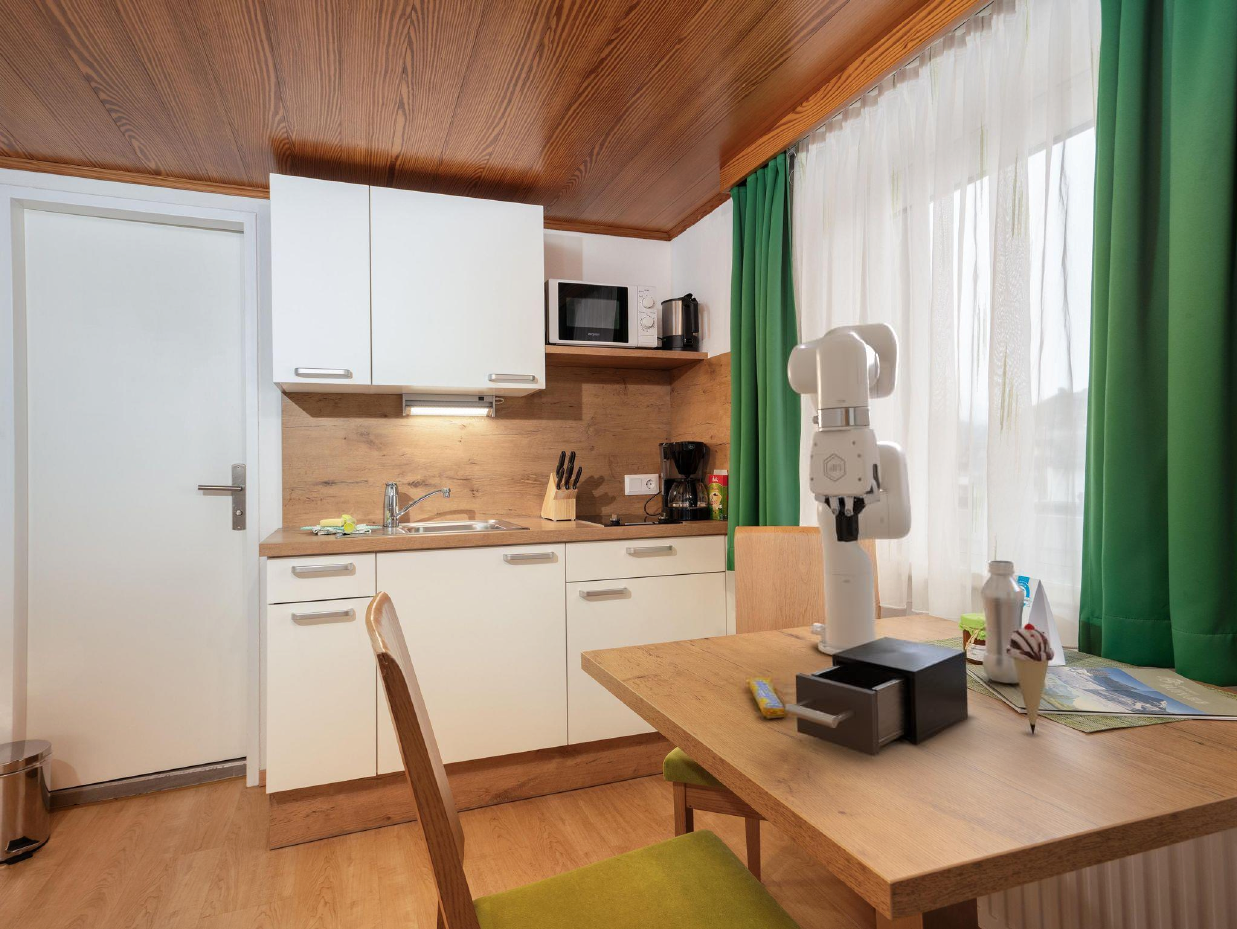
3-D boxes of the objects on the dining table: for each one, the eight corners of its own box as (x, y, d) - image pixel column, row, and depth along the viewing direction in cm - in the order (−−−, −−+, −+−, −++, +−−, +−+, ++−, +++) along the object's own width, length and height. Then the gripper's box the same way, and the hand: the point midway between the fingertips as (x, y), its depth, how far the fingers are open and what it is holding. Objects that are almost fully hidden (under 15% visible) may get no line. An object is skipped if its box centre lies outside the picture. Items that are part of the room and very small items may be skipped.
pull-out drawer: (849, 769, 83) (846, 703, 83) (772, 742, 92) (770, 683, 92) (927, 728, 95) (925, 671, 95) (853, 708, 104) (851, 655, 104)
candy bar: (791, 721, 102) (790, 708, 102) (762, 721, 102) (761, 708, 102) (770, 685, 119) (770, 674, 119) (745, 685, 119) (745, 674, 119)
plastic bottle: (1016, 675, 120) (1011, 558, 120) (1035, 688, 113) (1031, 564, 113) (976, 675, 121) (972, 559, 121) (993, 688, 114) (989, 565, 114)
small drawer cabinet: (917, 744, 92) (914, 671, 92) (833, 720, 102) (831, 654, 102) (968, 717, 101) (966, 650, 101) (887, 697, 111) (885, 636, 111)
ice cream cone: (998, 730, 96) (995, 621, 96) (1029, 724, 98) (1025, 616, 98) (1036, 745, 91) (1032, 629, 91) (1068, 738, 93) (1064, 624, 93)
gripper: (788, 424, 110) (792, 540, 111) (874, 418, 99) (879, 547, 99) (816, 423, 115) (820, 535, 115) (902, 418, 104) (906, 542, 104)
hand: (847, 540), depth 107 cm, fingers closed
